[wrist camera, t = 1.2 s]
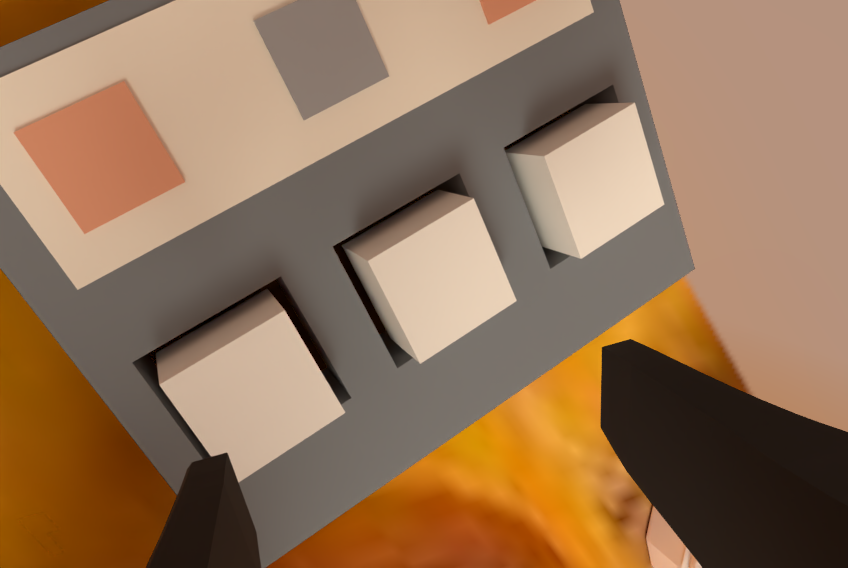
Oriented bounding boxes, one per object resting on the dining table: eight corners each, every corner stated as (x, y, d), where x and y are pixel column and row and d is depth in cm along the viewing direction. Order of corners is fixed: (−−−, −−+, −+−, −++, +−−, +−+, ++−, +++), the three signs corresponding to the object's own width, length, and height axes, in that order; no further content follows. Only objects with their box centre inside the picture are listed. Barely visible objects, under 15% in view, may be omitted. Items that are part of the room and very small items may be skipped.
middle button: (390, 338, 19) (420, 363, 17) (341, 245, 18) (367, 261, 16) (478, 282, 20) (516, 300, 18) (437, 189, 19) (473, 198, 17)
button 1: (537, 245, 20) (581, 258, 19) (502, 152, 19) (544, 156, 17) (615, 196, 21) (664, 204, 19) (585, 103, 20) (635, 102, 18)
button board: (231, 530, 20) (245, 586, 18) (-90, 104, 15) (-132, 102, 12) (643, 254, 24) (699, 269, 22) (512, -160, 19) (568, -200, 16)
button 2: (221, 445, 18) (232, 486, 16) (155, 353, 17) (159, 385, 15) (322, 381, 19) (345, 412, 17) (267, 288, 17) (284, 309, 15)
